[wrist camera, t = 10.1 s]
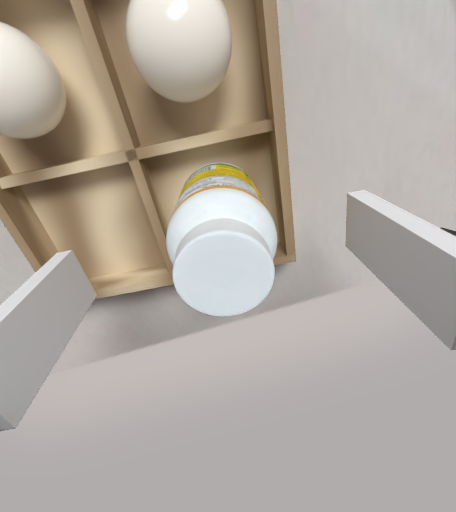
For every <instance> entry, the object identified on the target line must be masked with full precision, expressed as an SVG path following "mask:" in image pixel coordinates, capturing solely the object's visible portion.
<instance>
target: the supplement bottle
mask: <svg viewBox="0 0 456 512" xmlns="http://www.w3.org/2000/svg"><path fill="white" fill-rule="evenodd" d="M166 246H167V251H168V255H169V258H170V260H171V262H172V264H173V272H172V275H173V283H174V286H175V289H176V291H177V293H178V294H179V296H180V297H181V298H182V300H183V301H184V302H185V303H186V304H188V305H189V306H190V307H192V308H193V309H195V310H197V311H199V312H202V313H204V314H207V315H212V316H220V317H226V316H234V315H239V314H243V313H245V312H247V311H249V310H251V309H253V308H255V307H256V306H257V305H259V304H260V303H261V302H262V301H263V300H264V299H265V298H266V297H267V295H268V294H269V292H270V290H271V288H272V286H273V283H274V278H275V268H274V262H273V259H274V256H275V253H276V249H277V231H276V227H275V224H274V221H273V218H272V216H271V214H270V212H269V210H268V209H267V207H266V205H265V203H264V201H263V199H262V198H261V196H260V194H259V192H258V190H257V188H256V186H255V185H254V183H253V181H252V180H251V178H250V177H249V176H248V174H247V173H246V172H244V171H243V170H242V169H240V168H239V167H237V166H235V165H232V164H228V163H211V164H207V165H204V166H202V167H200V168H199V169H197V170H196V171H194V172H193V173H192V174H191V175H190V176H189V178H188V179H187V181H186V182H185V184H184V186H183V188H182V190H181V194H180V196H179V199H178V201H177V204H176V207H175V209H174V212H173V214H172V216H171V219H170V222H169V225H168V229H167V235H166Z"/></svg>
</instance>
